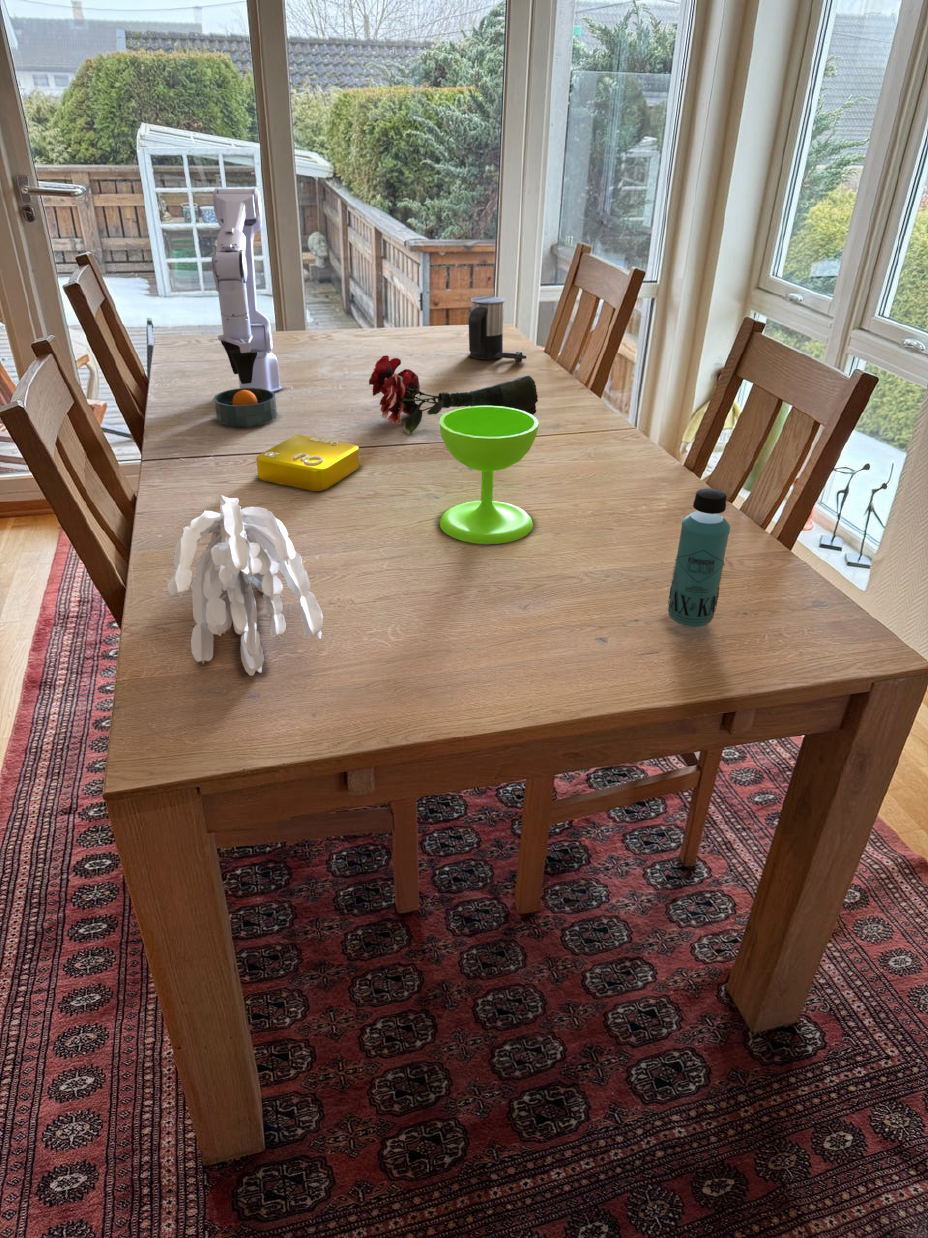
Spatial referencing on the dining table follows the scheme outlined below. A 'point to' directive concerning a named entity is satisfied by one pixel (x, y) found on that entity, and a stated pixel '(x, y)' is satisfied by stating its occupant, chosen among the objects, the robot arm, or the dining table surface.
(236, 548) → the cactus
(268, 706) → the dining table surface
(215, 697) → the dining table surface
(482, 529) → the wineglass
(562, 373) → the dining table surface
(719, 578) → the beverage bottle
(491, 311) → the milk frother
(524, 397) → the carnation
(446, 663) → the dining table surface
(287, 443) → the element tile
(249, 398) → the mandarin
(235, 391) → the bowl
